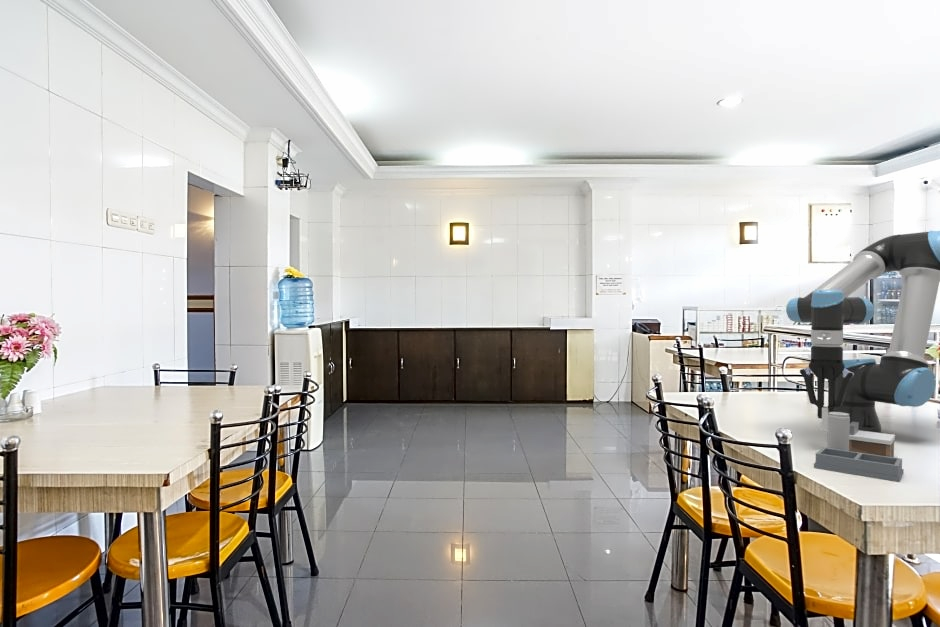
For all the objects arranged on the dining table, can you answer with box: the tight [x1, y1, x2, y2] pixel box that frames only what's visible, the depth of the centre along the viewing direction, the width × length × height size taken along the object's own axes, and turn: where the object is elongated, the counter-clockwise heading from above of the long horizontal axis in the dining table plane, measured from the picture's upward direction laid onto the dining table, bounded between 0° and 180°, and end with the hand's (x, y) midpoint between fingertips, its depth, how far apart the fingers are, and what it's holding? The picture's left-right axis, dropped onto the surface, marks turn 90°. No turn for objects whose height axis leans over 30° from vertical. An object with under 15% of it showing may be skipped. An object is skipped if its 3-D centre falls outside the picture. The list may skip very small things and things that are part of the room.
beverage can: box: [827, 412, 850, 451], centre depth 150 cm, size 5×5×12 cm
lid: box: [849, 422, 896, 445], centre depth 153 cm, size 9×9×3 cm
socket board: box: [813, 447, 905, 483], centre depth 140 cm, size 9×17×4 cm, turn 48°
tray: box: [849, 439, 895, 458], centre depth 153 cm, size 9×9×4 cm
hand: (825, 430), depth 160 cm, fingers closed
